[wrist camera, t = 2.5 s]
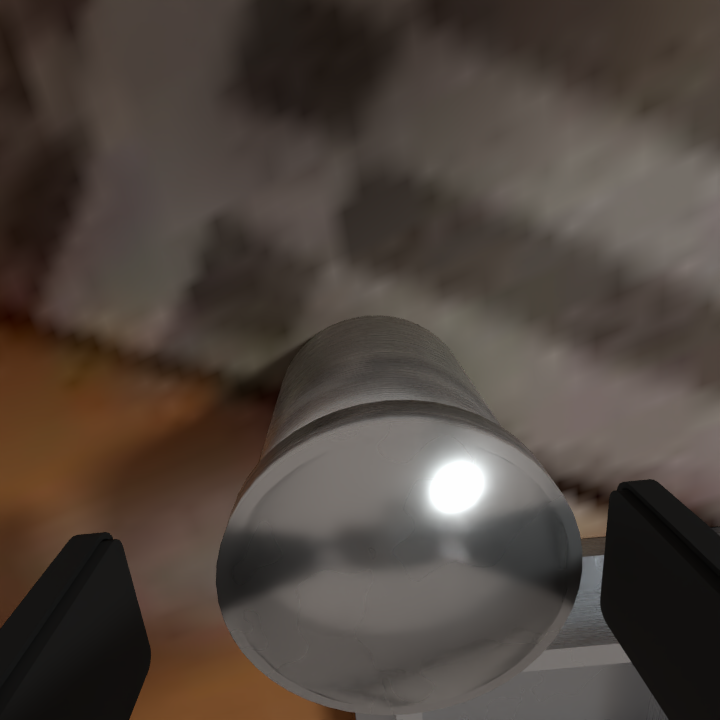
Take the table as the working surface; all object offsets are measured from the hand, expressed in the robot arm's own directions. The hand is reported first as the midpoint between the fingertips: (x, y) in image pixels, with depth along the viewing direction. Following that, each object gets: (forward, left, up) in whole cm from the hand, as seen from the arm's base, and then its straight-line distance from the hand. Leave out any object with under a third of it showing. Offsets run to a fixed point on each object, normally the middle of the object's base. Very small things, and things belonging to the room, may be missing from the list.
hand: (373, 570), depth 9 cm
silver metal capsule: (-1, 0, -6) cm, 6 cm away
